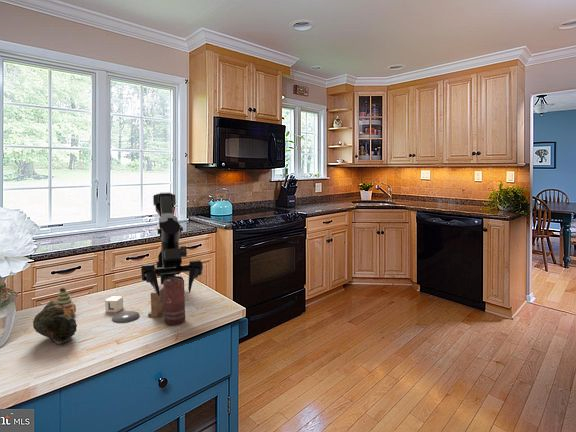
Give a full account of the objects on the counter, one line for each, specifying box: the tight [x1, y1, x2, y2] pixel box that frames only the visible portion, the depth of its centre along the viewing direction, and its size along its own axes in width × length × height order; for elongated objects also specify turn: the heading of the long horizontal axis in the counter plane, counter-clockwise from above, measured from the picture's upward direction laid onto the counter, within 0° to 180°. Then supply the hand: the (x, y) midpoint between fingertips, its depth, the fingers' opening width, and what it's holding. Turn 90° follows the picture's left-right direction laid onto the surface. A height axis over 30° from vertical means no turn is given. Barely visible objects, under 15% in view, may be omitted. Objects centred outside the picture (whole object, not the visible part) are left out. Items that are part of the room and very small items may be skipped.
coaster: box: [111, 310, 140, 324], centre depth 118 cm, size 8×8×1 cm
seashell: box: [32, 299, 78, 345], centre depth 101 cm, size 11×11×10 cm
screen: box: [147, 284, 164, 318], centre depth 123 cm, size 9×4×8 cm, turn 176°
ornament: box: [50, 287, 77, 319], centre depth 117 cm, size 8×6×10 cm
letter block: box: [104, 295, 124, 313], centre depth 124 cm, size 4×4×4 cm
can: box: [163, 275, 186, 326], centre depth 114 cm, size 6×6×14 cm
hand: (174, 293), depth 115 cm, fingers open, 9 cm apart
